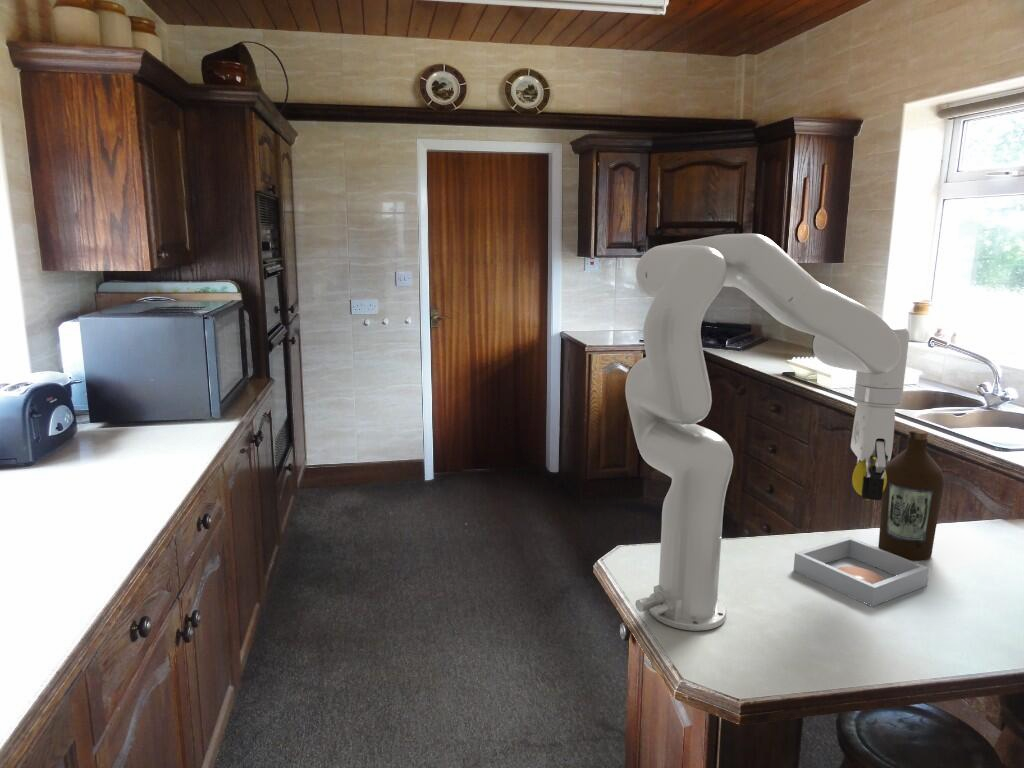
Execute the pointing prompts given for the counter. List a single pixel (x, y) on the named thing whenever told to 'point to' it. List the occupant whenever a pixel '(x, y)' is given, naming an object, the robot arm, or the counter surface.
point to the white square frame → (861, 570)
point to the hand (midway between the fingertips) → (867, 492)
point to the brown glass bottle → (911, 501)
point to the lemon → (860, 473)
